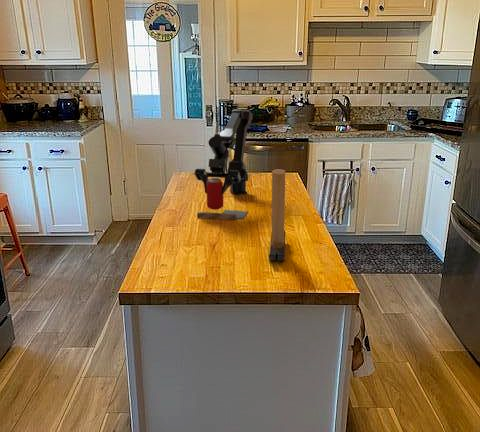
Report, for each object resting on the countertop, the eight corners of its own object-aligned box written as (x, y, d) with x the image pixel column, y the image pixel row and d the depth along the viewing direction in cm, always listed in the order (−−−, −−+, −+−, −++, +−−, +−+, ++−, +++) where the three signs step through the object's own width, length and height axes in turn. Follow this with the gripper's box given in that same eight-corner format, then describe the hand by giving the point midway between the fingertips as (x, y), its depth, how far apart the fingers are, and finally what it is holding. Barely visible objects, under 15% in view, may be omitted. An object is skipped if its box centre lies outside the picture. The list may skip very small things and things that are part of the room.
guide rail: (197, 217, 195) (197, 212, 194) (198, 216, 196) (198, 211, 195) (235, 220, 191) (235, 215, 191) (236, 219, 193) (236, 214, 192)
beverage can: (224, 205, 201) (223, 177, 197) (222, 210, 195) (221, 182, 191) (208, 204, 202) (207, 177, 198) (205, 210, 196) (204, 181, 191)
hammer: (284, 270, 152) (286, 186, 138) (268, 270, 153) (268, 186, 138) (285, 237, 170) (287, 159, 155) (271, 236, 170) (272, 158, 155)
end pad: (219, 217, 195) (219, 216, 195) (224, 210, 203) (224, 209, 203) (243, 219, 192) (243, 218, 192) (247, 212, 201) (247, 211, 201)
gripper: (194, 149, 196) (186, 182, 190) (238, 151, 192) (232, 185, 186) (201, 163, 206) (194, 195, 200) (243, 165, 202) (237, 198, 195)
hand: (213, 193), depth 195 cm, fingers closed on beverage can, 7 cm apart
